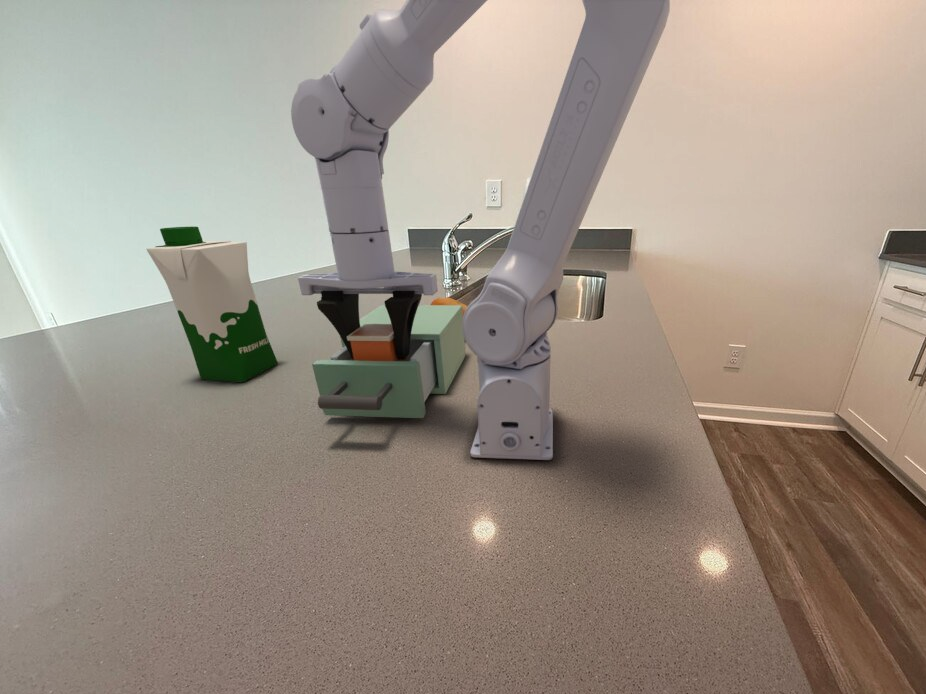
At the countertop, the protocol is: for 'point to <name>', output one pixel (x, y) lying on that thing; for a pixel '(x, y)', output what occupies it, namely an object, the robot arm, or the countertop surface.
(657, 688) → the countertop surface
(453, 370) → the green cabinet
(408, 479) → the countertop surface
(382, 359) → the plastic tub
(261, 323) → the milk carton
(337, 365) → the drawer
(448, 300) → the fruit
